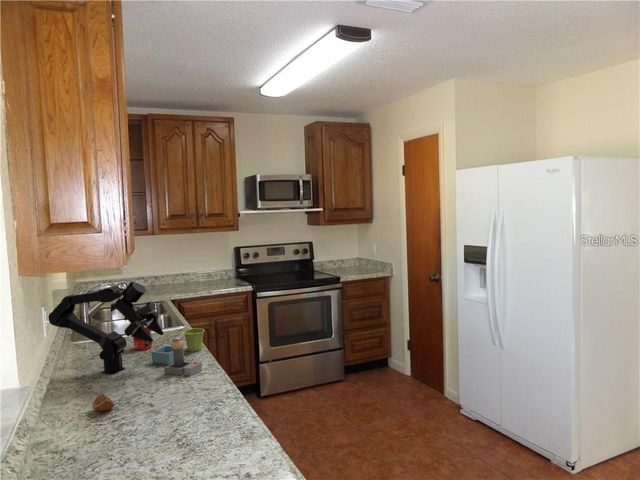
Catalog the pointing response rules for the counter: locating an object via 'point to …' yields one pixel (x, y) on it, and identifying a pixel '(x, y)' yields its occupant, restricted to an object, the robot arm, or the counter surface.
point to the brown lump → (102, 402)
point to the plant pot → (194, 339)
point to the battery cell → (178, 353)
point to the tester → (184, 368)
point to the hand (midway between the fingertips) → (157, 337)
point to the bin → (163, 355)
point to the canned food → (142, 342)
